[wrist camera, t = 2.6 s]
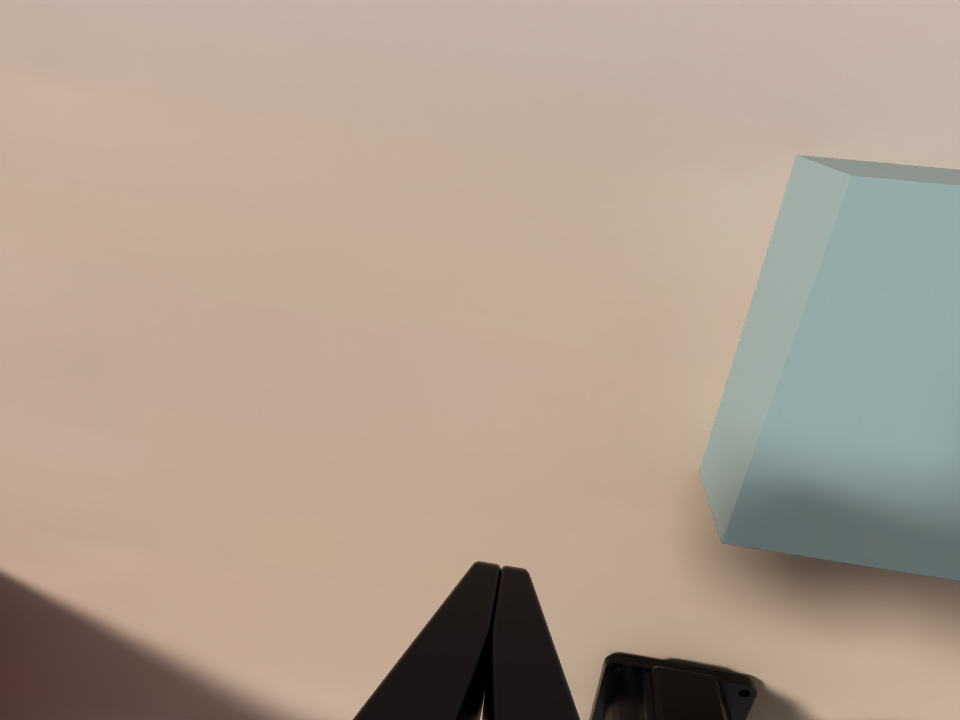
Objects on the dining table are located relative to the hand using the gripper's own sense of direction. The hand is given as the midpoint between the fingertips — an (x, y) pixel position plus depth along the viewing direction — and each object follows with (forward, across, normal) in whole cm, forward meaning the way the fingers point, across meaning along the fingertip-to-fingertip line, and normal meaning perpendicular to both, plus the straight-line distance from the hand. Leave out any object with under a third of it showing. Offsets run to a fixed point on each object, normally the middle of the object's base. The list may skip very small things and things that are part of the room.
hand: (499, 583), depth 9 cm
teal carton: (+12, -11, 0) cm, 16 cm away
